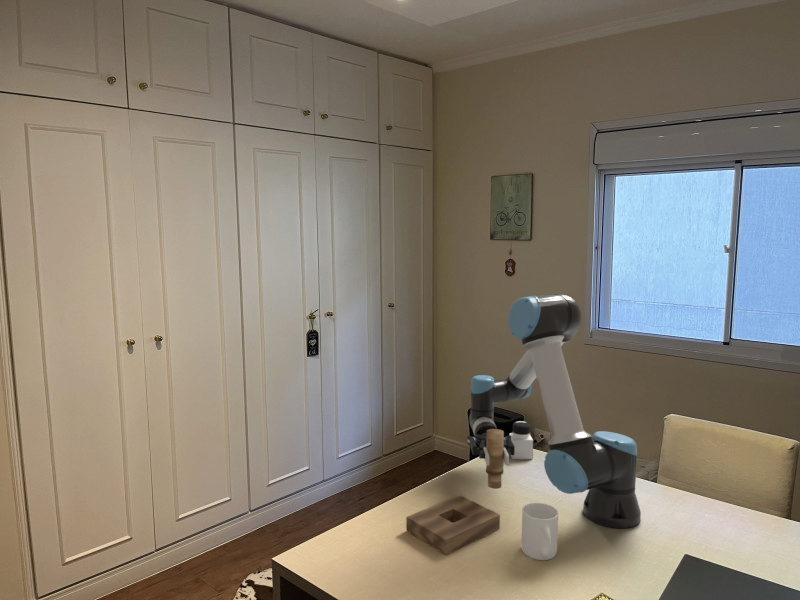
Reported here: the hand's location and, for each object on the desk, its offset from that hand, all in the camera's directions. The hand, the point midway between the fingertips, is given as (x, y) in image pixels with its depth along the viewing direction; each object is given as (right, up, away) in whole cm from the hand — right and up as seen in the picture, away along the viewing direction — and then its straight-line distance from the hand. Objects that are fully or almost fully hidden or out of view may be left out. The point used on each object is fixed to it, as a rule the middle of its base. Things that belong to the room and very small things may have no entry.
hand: (497, 460), depth 161 cm
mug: (+8, -19, -18) cm, 27 cm away
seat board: (-13, -17, -5) cm, 22 cm away
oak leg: (0, -9, +6) cm, 11 cm away
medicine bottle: (+16, -11, +46) cm, 50 cm away
